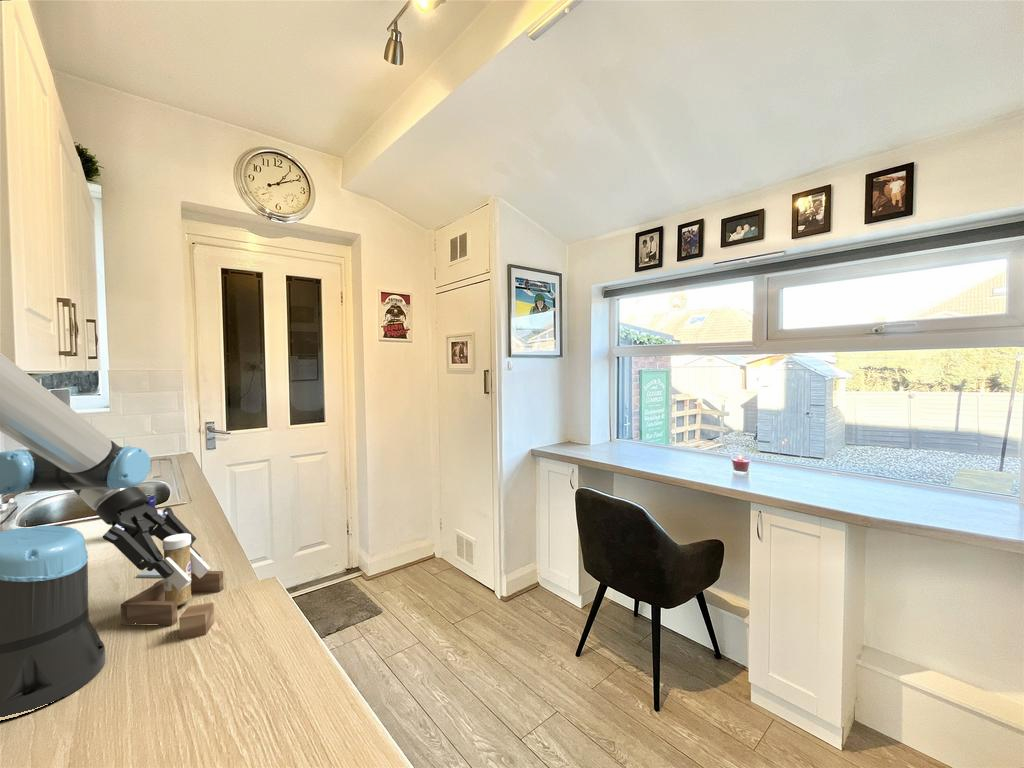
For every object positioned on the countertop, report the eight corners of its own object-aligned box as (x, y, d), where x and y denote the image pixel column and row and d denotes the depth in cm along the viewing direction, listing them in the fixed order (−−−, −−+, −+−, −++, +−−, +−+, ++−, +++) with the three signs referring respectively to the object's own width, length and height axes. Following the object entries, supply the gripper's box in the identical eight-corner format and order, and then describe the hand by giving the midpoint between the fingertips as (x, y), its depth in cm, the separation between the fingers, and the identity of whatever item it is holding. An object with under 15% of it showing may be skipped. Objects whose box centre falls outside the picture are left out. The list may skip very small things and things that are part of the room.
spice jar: (191, 603, 85) (190, 537, 85) (162, 610, 83) (160, 542, 83) (192, 593, 89) (191, 530, 89) (165, 600, 87) (164, 535, 87)
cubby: (172, 625, 79) (171, 604, 79) (121, 624, 80) (120, 604, 80) (223, 588, 93) (223, 571, 93) (179, 588, 93) (179, 570, 93)
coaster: (174, 577, 98) (174, 575, 98) (137, 577, 98) (137, 574, 98) (203, 560, 107) (203, 558, 107) (169, 560, 107) (169, 557, 107)
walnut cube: (205, 635, 76) (205, 613, 76) (179, 639, 75) (179, 617, 75) (214, 622, 80) (213, 602, 80) (189, 626, 79) (188, 605, 79)
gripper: (143, 499, 95) (215, 572, 95) (56, 526, 78) (144, 615, 77) (165, 475, 95) (237, 548, 94) (83, 497, 77) (171, 587, 77)
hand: (195, 578), depth 86 cm, fingers closed on spice jar, 4 cm apart
